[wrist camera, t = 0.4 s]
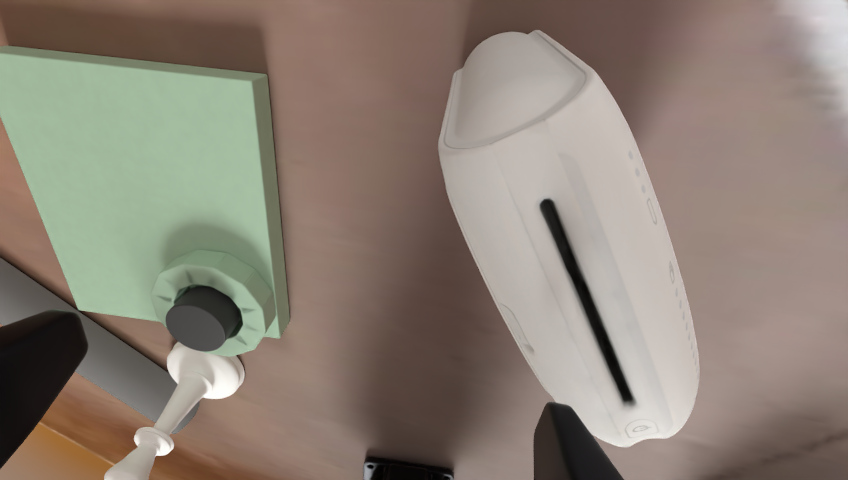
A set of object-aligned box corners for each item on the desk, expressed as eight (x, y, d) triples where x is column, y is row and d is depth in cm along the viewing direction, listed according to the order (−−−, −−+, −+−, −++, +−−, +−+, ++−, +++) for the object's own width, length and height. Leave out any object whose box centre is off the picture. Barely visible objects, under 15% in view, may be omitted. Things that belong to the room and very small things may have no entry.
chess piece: (236, 400, 30) (140, 564, 22) (167, 374, 30) (40, 531, 21) (252, 355, 28) (151, 519, 19) (177, 325, 27) (38, 481, 19)
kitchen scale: (291, 326, 26) (270, 363, 24) (100, 299, 27) (60, 332, 24) (268, 73, 19) (234, 87, 16) (7, 45, 20) (-64, 54, 17)
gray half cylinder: (178, 421, 32) (163, 443, 31) (-95, 243, 26) (-131, 259, 25) (209, 398, 31) (195, 420, 29) (-76, 202, 25) (-113, 216, 23)
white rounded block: (617, 225, 21) (762, 475, 10) (530, 256, 22) (579, 505, 12) (541, 8, 17) (653, 44, 6) (440, 62, 18) (388, 168, 7)
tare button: (243, 334, 23) (229, 355, 22) (189, 327, 24) (171, 347, 22) (236, 289, 22) (220, 309, 21) (178, 281, 22) (158, 300, 21)
